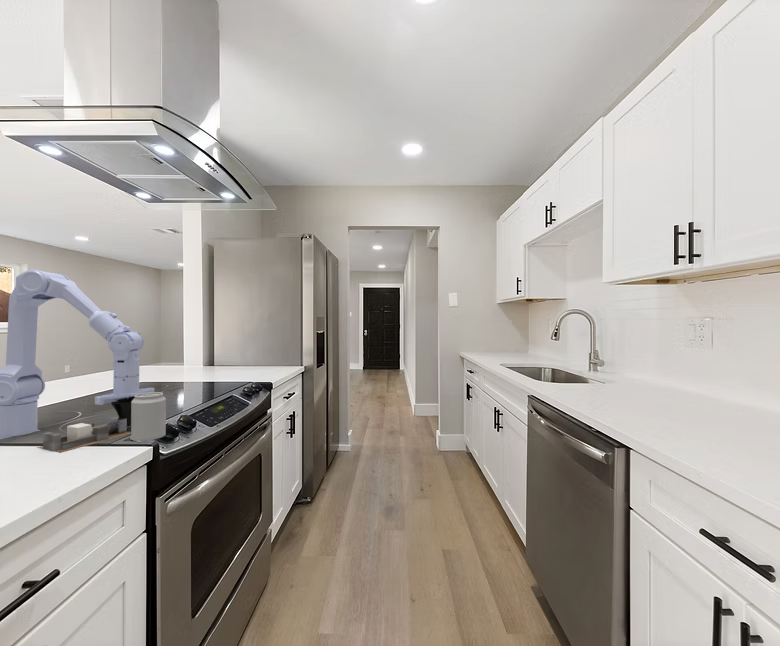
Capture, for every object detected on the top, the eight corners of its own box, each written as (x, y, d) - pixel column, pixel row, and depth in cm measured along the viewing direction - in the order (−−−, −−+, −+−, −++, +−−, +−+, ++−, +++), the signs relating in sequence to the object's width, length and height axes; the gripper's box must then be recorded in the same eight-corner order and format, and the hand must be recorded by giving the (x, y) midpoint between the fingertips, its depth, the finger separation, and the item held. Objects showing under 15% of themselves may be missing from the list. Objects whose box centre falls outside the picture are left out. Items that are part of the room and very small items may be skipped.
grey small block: (80, 438, 93) (80, 424, 93) (115, 429, 100) (115, 416, 100) (91, 440, 91) (92, 426, 91) (126, 431, 99) (126, 418, 99)
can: (148, 446, 91) (149, 397, 91) (123, 443, 93) (123, 395, 92) (172, 436, 98) (172, 391, 98) (148, 434, 100) (148, 390, 100)
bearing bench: (36, 451, 86) (36, 432, 86) (111, 432, 102) (111, 415, 102) (60, 457, 83) (60, 437, 83) (133, 436, 98) (133, 419, 98)
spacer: (67, 442, 90) (67, 426, 90) (81, 439, 93) (81, 423, 93) (77, 444, 88) (77, 428, 88) (91, 441, 91) (91, 424, 91)
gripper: (107, 380, 93) (107, 435, 93) (162, 373, 106) (161, 420, 106) (89, 379, 95) (89, 431, 95) (144, 372, 109) (144, 418, 109)
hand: (126, 426), depth 101 cm, fingers closed
